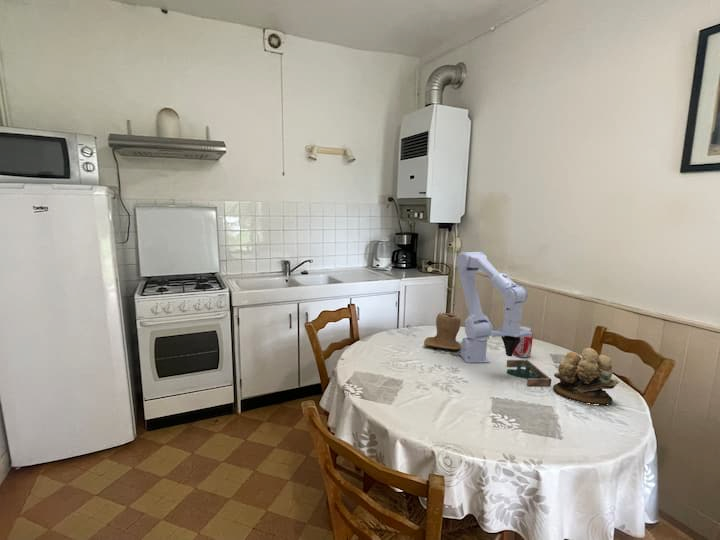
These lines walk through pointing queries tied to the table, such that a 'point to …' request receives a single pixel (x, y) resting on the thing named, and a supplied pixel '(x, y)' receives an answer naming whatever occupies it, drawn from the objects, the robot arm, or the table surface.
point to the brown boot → (445, 332)
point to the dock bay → (542, 379)
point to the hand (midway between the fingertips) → (508, 355)
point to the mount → (522, 371)
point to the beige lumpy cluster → (585, 377)
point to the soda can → (524, 344)
